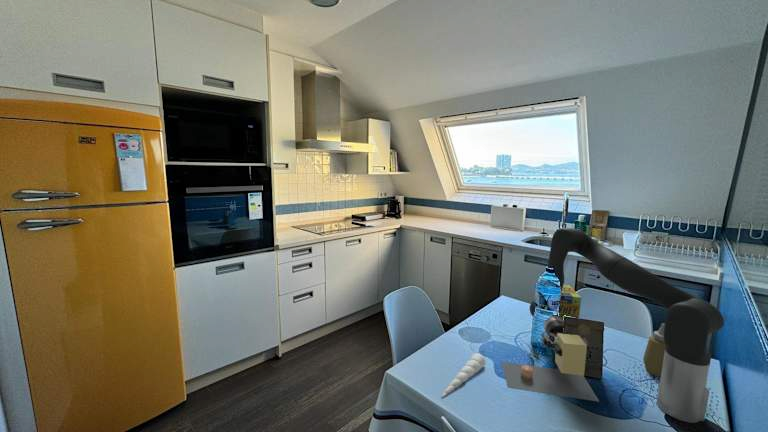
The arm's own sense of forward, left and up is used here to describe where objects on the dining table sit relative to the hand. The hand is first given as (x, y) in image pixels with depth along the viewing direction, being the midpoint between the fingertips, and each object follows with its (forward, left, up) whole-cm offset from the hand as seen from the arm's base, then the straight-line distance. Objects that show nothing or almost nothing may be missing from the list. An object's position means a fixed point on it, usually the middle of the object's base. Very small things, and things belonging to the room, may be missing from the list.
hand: (573, 354), depth 98 cm
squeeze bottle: (-33, -17, -12) cm, 39 cm away
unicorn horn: (+33, +3, -12) cm, 35 cm away
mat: (+6, -3, -12) cm, 14 cm away
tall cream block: (0, -2, -6) cm, 6 cm away
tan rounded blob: (+12, -3, -11) cm, 17 cm away
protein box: (-12, -50, -12) cm, 52 cm away
